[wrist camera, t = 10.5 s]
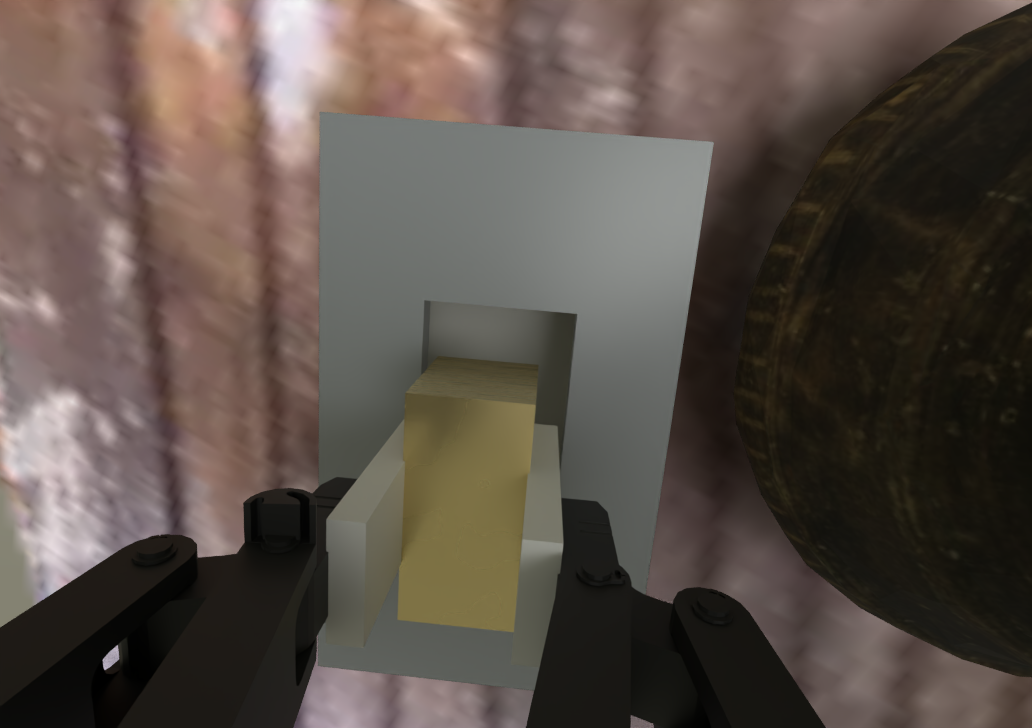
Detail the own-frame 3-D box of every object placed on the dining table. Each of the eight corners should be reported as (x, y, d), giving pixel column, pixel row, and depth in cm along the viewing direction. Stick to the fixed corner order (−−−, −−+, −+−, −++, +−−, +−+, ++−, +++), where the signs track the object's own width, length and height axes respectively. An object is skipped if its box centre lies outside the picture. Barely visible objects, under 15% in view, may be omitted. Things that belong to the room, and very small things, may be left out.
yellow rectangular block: (522, 546, 18) (515, 632, 14) (429, 536, 18) (397, 620, 14) (538, 364, 17) (535, 404, 13) (438, 355, 17) (405, 393, 13)
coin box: (603, 555, 31) (628, 701, 21) (389, 533, 31) (317, 665, 22) (653, 176, 27) (713, 142, 17) (402, 157, 27) (319, 111, 17)
